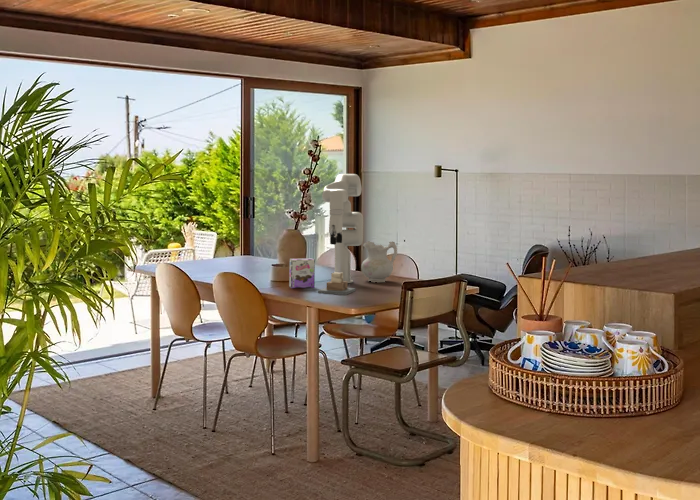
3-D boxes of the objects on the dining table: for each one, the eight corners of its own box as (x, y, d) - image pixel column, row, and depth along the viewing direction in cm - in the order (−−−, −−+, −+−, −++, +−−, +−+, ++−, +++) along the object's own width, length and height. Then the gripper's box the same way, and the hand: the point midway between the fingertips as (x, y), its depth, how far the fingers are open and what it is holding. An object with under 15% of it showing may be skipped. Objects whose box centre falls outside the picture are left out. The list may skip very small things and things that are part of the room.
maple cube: (334, 281, 465) (334, 272, 465) (343, 281, 463) (343, 272, 463) (331, 282, 460) (331, 273, 460) (339, 282, 459) (339, 273, 458)
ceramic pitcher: (397, 281, 518) (398, 241, 517) (396, 283, 498) (396, 241, 498) (362, 281, 520) (363, 240, 519) (360, 282, 500) (360, 240, 500)
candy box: (291, 288, 475) (291, 259, 474) (288, 287, 481) (289, 258, 479) (314, 287, 479) (315, 259, 477) (312, 286, 484) (312, 258, 483)
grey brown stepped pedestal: (328, 289, 472) (328, 279, 472) (355, 290, 467) (355, 281, 467) (318, 293, 457) (318, 283, 457) (346, 294, 452) (346, 284, 452)
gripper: (335, 211, 469) (335, 241, 471) (324, 213, 453) (324, 244, 454) (347, 211, 467) (347, 242, 468) (337, 213, 450) (337, 245, 452)
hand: (336, 243), depth 461 cm, fingers open, 9 cm apart
